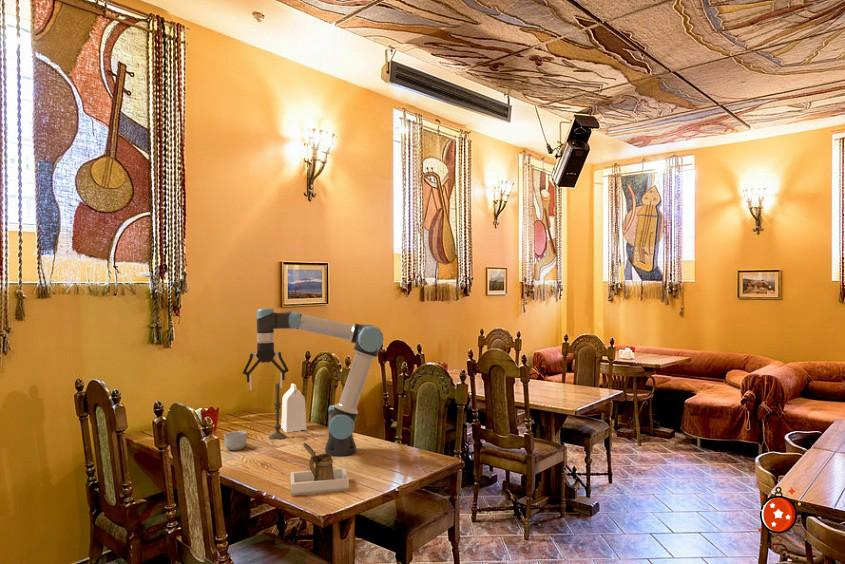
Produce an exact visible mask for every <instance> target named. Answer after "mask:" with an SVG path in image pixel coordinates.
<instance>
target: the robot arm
mask: <svg viewBox="0 0 845 564" xmlns="http://www.w3.org/2000/svg"><path fill="white" fill-rule="evenodd" d="M279 329H281V330H283V329H284V330H285V329H288V330H289V329H291V330H293V329H295V330H301V331H306V332H310V333H316V334H320V335H323V336H324V335H325V336H328V337H333V338H338V339H343V340H348V341H349V342H350V343H352V344H354V346H353V352H354V357H353V359H352V362H351V366H350V369H349V371H348V375H347V378H346V381H345V385H344V387H343V389H342V392H341V395H340V399H339V401H338V403H336V404H332V405H329V407H328V410H327V413H328V424H327V428H328V438H327V441H326V445H325V448H324V454H330V455H331V457H344V456H350V455H353V454H355V453H357V445H356V443H355V442H356V441H355V439H354V436H353V434H354V431H355V427H356V426H355V423H356V421H357V418H358V415H359V411H358V409H357V408H358V405H359V401H360V398H361V396H362V392H363V389H364V386H365V384H366V381H367V377H368V375H369V372H370V368H371V365H372V362H373V360H374V359H376V358H378V354H379V352H380V349H381V348H382V346H383V344H384V340H385V339H384V334H383V332H382V331H381V329H380V328H378V327H377V326H375V325H373V324H360V323H353V324H351V323H344V322H341V321H336V320H330V319H325V318H321V317H319V316H318V317H316V316H312V315H307V314H303V313H300V312H297V311H291V310H290V311H286V312H275V310H274V308H258V309H257V311H256V342H257V343H256V345H257V346H256V351H257V352H256V353H253V352H251V353H250V354H249V359H248V361H247V363H246V365H245V367H244V370H243V371H242V374H243V375H246V382H247V383H249V390H250V391H252V388H253V387H252V374H251V373H252V372H253V371H254V370H255V368H256V367H257V366H258V365H259V364H260V363H264V364H265V363H271V362H272V364H273V365H274V366H275V367H276V368H277V369H278V370H279V371H280V372H281V373H279V375H280V376H279V377H280V378H279V379H280V380H279V381H280V383H279V384H280V389H283V381H285V379H286V377H285V376H286V375H285V374H287V373H288V372H289V371H290V370H289V368H288V366H287V364H286V362H285V361H284V358H283V357H282V352H281V351H277V352H275V343H274V341H275V330H279ZM275 356H276V357H277V358H278V359H279V361H280V363H281V364H282V366H283V368H282V367H281V365H280V364H279V363H278V362H277V361H276V360H275V359H274V358H275ZM255 357H256V358H257V361H255V362H254V364H253V365H252V366H251V367H250V369H249V366H250V365H251V363H252V360H253V359H255ZM248 369H249V370H248Z"/></svg>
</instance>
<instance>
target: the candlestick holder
mask: <svg viewBox="0 0 845 564" xmlns="http://www.w3.org/2000/svg"><path fill="white" fill-rule="evenodd" d="M274 387H275V389H274V390H275V395H274V396H275V398H274V399H275V402H274V403H273V406H274V410H275V422H276V423H275V425H274V429H275V431H274V433H272V434H271V435H269V437H268V439H269V440H271V439H280V440H283V438H284V439H286V438H287V435H286V434H284V433H283V432H281V431H280V429H281V424H280V410H281V409H282V402H280V401H281V398H280V395H281V393H280V389H281V387H280V383H278V382H276V383H275V385H274ZM285 437H286V438H285Z"/></svg>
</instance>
